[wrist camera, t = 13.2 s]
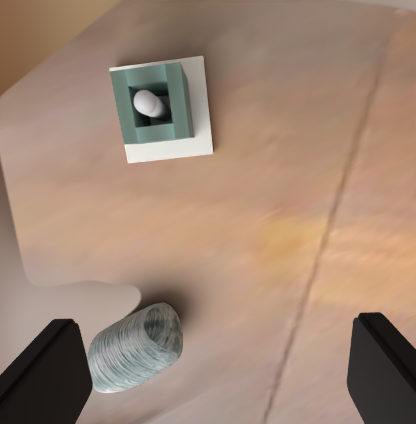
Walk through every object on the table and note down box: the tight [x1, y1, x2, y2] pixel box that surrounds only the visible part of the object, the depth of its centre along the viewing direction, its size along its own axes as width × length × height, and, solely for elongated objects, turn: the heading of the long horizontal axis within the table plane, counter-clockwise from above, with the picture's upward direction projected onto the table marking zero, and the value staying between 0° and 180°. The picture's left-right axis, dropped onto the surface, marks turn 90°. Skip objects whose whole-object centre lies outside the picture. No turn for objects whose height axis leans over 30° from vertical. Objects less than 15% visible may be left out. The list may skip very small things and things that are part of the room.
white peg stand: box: [110, 56, 213, 163], centre depth 24 cm, size 10×10×10 cm
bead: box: [110, 62, 195, 144], centre depth 24 cm, size 6×6×6 cm
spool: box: [87, 302, 183, 393], centre depth 33 cm, size 14×10×10 cm
